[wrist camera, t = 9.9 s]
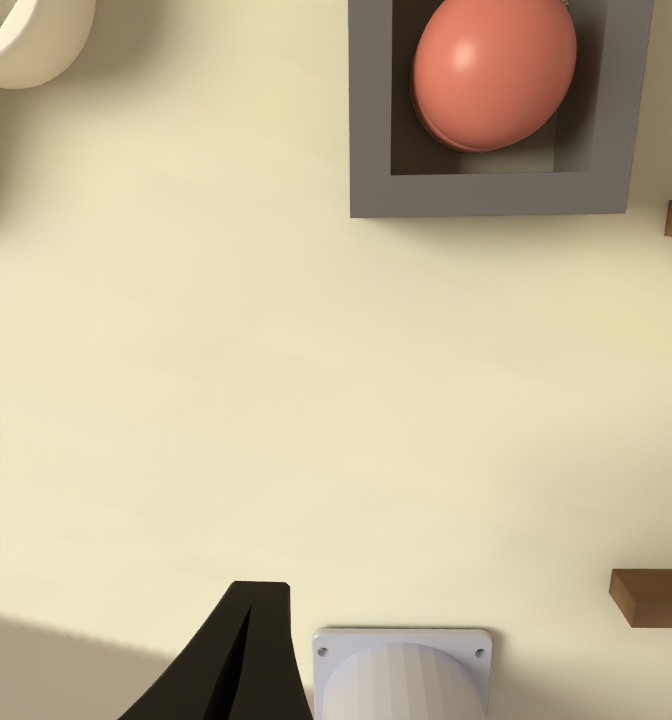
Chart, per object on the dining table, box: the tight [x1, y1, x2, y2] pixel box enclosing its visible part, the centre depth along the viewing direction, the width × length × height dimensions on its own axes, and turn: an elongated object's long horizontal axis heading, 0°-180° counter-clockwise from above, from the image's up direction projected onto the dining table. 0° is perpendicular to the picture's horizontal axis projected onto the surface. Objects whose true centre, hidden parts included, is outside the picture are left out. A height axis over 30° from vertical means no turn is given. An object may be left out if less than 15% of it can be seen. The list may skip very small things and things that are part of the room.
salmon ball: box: [410, 0, 577, 153], centre depth 15 cm, size 4×4×4 cm
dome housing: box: [348, 0, 654, 218], centre depth 17 cm, size 8×8×3 cm
